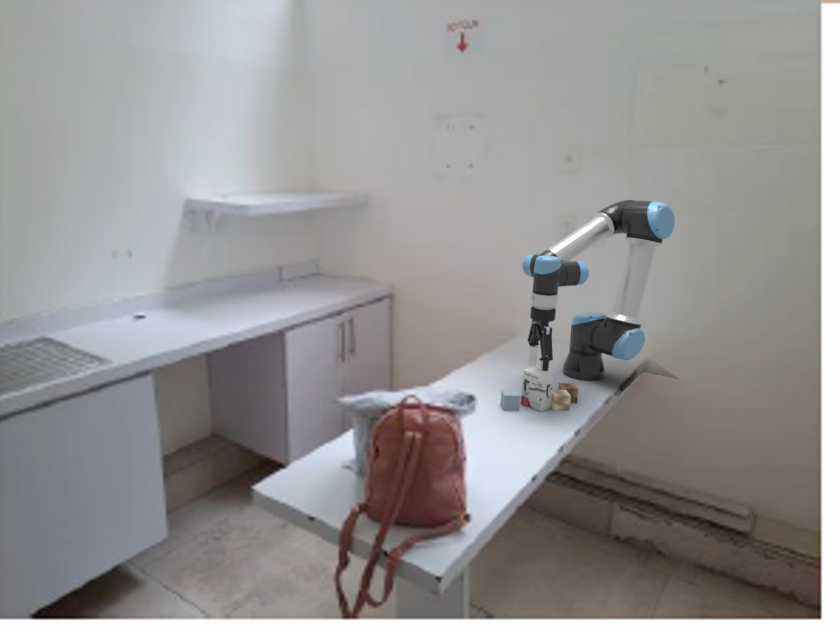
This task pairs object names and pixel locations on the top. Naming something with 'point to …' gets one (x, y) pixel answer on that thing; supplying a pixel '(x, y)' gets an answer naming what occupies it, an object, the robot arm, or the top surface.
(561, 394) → the cube maple
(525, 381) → the ink box
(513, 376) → the top surface
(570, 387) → the cube walnut
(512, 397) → the cube slate
